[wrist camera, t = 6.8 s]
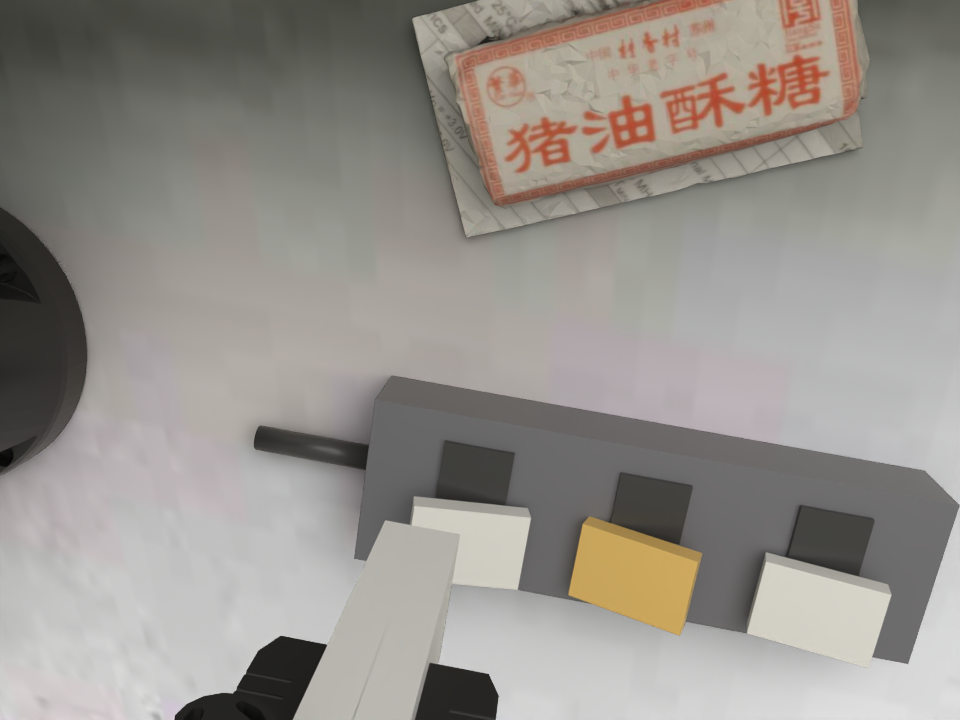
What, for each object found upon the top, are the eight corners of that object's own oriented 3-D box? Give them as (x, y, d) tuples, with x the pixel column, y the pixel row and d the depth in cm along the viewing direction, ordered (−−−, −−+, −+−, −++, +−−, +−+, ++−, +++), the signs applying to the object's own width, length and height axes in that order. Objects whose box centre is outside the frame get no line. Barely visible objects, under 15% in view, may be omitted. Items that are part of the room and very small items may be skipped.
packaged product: (860, -119, 33) (894, 150, 36) (824, -90, 38) (857, 147, 40) (394, 7, 36) (454, 250, 38) (414, 20, 41) (466, 237, 43)
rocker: (746, 622, 42) (746, 633, 41) (765, 552, 41) (766, 561, 40) (866, 656, 40) (868, 668, 39) (888, 584, 39) (891, 594, 38)
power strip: (258, 501, 47) (229, 538, 43) (273, 354, 45) (243, 377, 41) (879, 617, 45) (910, 667, 41) (924, 471, 43) (962, 508, 39)
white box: (403, 568, 41) (403, 579, 40) (413, 496, 40) (414, 505, 39) (514, 578, 42) (517, 589, 41) (527, 508, 41) (531, 517, 40)
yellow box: (575, 586, 42) (568, 595, 41) (589, 516, 41) (582, 523, 40) (684, 625, 40) (679, 635, 40) (702, 553, 39) (697, 562, 39)
